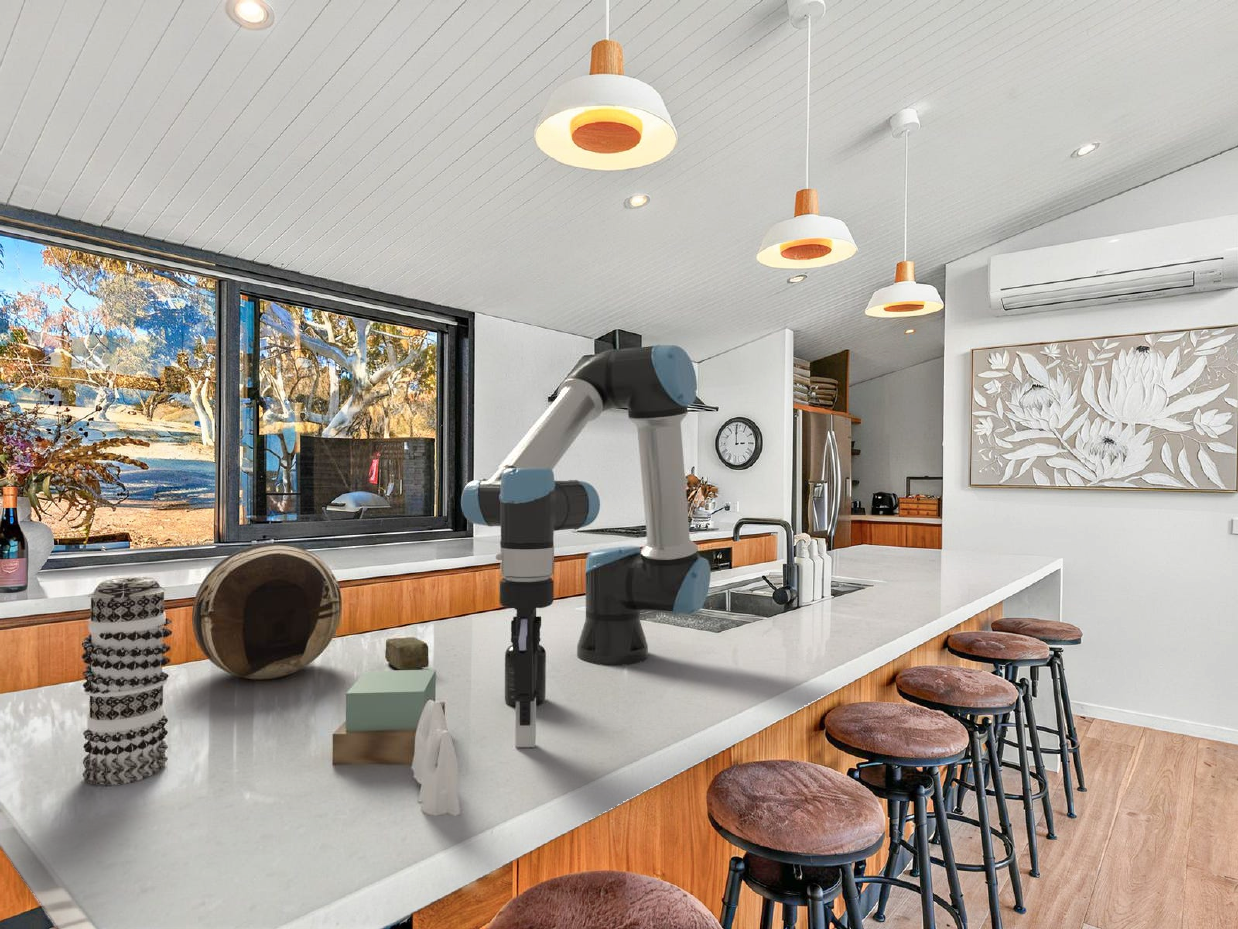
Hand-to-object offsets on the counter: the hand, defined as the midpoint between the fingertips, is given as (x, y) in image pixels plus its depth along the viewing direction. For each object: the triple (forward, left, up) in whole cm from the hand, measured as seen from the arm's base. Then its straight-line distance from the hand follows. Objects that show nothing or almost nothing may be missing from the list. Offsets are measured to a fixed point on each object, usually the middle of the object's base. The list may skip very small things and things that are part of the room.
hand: (525, 745), depth 97 cm
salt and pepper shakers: (+9, +15, -1) cm, 17 cm away
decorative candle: (+49, +8, -1) cm, 50 cm away
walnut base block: (+18, 0, -1) cm, 19 cm away
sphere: (+51, -35, -1) cm, 62 cm away
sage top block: (+18, 0, +4) cm, 19 cm away
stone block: (+25, -37, -1) cm, 44 cm away
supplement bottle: (+2, -20, -1) cm, 20 cm away
